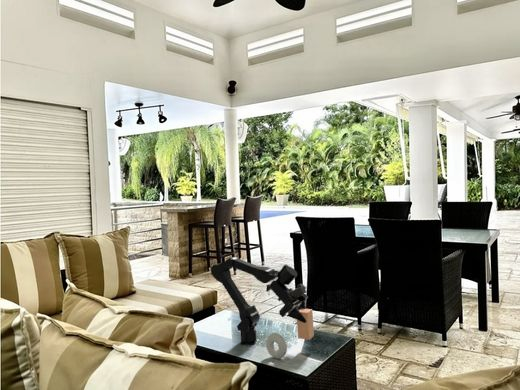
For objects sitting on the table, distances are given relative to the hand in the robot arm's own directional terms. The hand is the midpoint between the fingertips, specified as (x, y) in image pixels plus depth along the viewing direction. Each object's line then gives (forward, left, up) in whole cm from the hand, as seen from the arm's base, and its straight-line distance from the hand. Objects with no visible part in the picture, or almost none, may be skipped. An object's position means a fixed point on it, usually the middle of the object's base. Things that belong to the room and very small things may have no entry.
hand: (308, 320), depth 167 cm
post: (-1, +1, -7) cm, 7 cm away
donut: (-13, -7, -13) cm, 20 cm away
